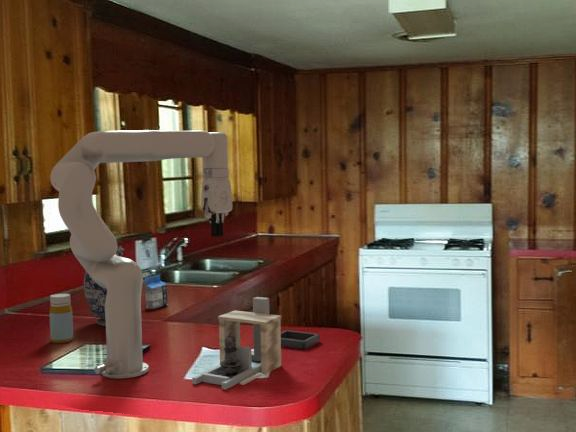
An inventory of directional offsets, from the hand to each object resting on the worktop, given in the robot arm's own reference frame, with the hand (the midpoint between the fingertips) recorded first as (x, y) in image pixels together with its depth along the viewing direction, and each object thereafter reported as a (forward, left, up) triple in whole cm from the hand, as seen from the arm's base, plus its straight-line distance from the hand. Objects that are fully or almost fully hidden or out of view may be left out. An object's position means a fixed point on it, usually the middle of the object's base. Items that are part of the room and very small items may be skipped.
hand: (217, 236), depth 203 cm
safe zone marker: (-18, -16, -35) cm, 43 cm away
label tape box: (+42, +60, -35) cm, 81 cm away
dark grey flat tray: (+18, -16, -35) cm, 43 cm away
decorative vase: (+14, +57, -35) cm, 68 cm away
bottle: (-12, +54, -35) cm, 66 cm away
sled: (-14, -16, -35) cm, 41 cm away
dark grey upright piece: (-18, -16, -35) cm, 43 cm away
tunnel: (-8, -16, -35) cm, 39 cm away
